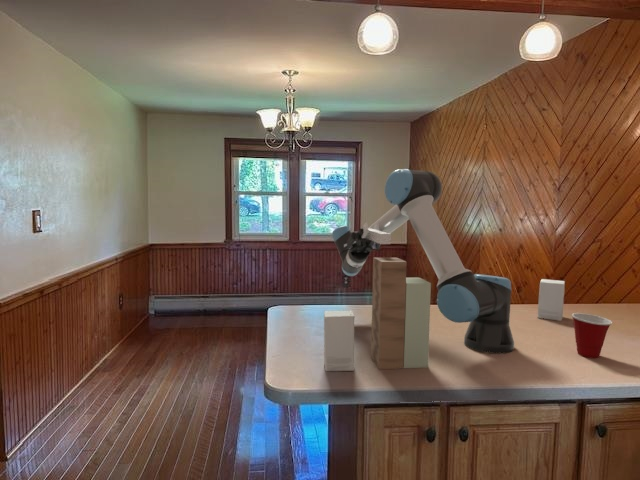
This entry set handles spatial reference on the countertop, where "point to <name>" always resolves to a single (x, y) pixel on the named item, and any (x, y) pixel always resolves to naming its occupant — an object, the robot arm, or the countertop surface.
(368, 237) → the grey bar
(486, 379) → the countertop surface
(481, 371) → the countertop surface
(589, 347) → the plastic cup
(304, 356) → the countertop surface
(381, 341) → the block
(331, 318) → the skincare box
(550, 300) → the supplement box
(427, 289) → the sage dock
